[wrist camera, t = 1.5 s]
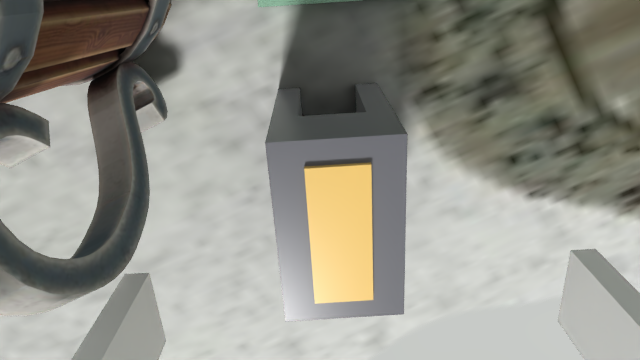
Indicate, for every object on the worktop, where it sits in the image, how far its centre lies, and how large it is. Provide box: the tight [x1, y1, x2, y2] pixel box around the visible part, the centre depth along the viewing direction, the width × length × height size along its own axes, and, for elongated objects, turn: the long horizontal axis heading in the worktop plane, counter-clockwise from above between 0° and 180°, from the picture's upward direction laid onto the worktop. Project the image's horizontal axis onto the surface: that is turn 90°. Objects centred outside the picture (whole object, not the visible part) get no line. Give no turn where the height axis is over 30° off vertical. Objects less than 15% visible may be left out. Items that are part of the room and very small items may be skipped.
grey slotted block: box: [265, 83, 407, 321], centre depth 22 cm, size 5×8×8 cm, turn 3°
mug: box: [0, 0, 171, 316], centre depth 15 cm, size 16×11×15 cm
